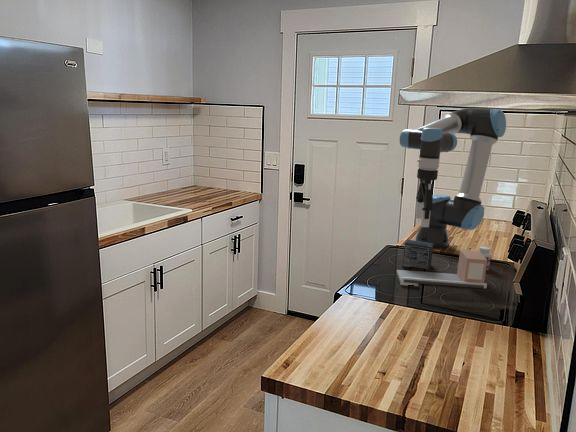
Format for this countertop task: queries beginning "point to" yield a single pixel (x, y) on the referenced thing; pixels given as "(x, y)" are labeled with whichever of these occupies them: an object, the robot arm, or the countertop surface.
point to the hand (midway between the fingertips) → (421, 222)
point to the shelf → (434, 279)
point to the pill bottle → (486, 255)
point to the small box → (417, 254)
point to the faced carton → (471, 266)
